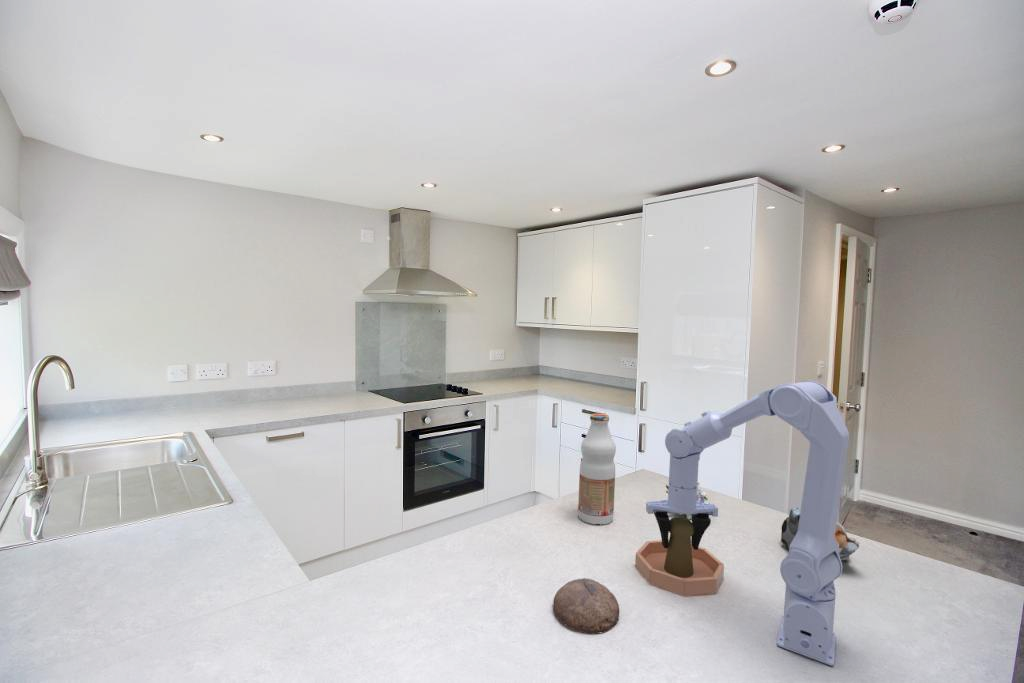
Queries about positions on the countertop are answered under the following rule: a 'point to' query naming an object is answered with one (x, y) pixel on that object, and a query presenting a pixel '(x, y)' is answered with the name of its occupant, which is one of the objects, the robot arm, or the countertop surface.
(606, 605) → the decorative stone
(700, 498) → the passion flower
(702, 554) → the octagonal tray
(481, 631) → the countertop surface
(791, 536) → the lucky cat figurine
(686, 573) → the olive knobbed peg
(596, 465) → the fruit juice
